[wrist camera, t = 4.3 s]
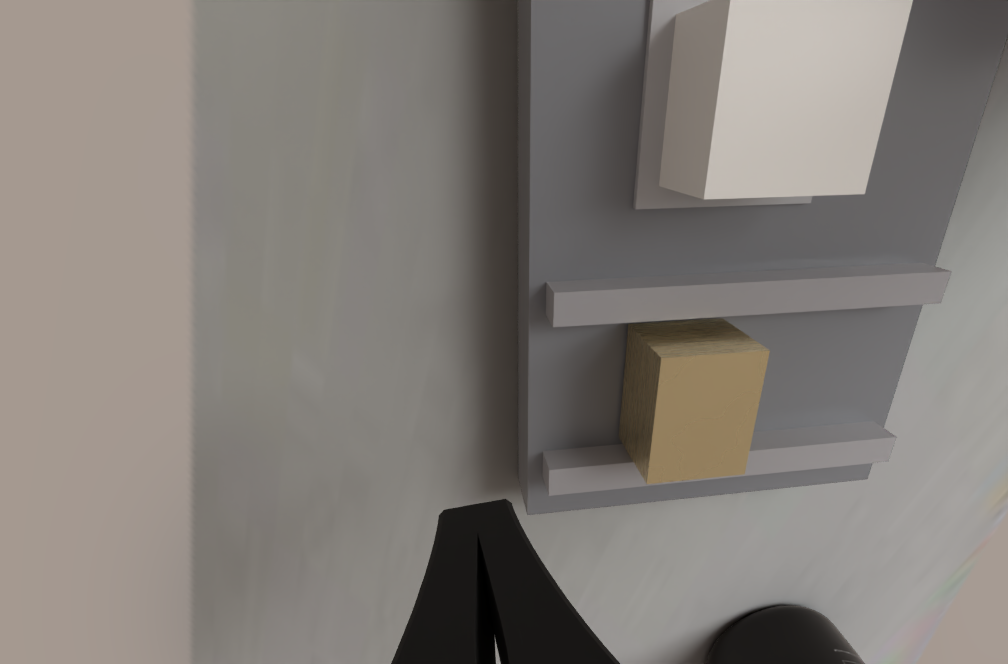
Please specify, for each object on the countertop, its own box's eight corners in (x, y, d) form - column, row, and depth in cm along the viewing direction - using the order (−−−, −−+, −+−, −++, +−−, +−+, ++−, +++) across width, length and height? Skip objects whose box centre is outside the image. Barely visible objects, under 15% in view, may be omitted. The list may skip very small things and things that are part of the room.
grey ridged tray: (1065, -409, 12) (1251, -564, 9) (829, 448, 21) (889, 497, 19) (516, -478, 11) (548, -686, 8) (518, 478, 20) (532, 536, 17)
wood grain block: (722, 318, 16) (769, 350, 14) (704, 429, 17) (744, 474, 15) (628, 323, 16) (661, 358, 13) (618, 436, 17) (646, 484, 15)
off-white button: (828, 16, 13) (914, -6, 11) (795, 181, 14) (864, 194, 12) (675, 14, 12) (731, -9, 10) (658, 186, 14) (704, 199, 12)
